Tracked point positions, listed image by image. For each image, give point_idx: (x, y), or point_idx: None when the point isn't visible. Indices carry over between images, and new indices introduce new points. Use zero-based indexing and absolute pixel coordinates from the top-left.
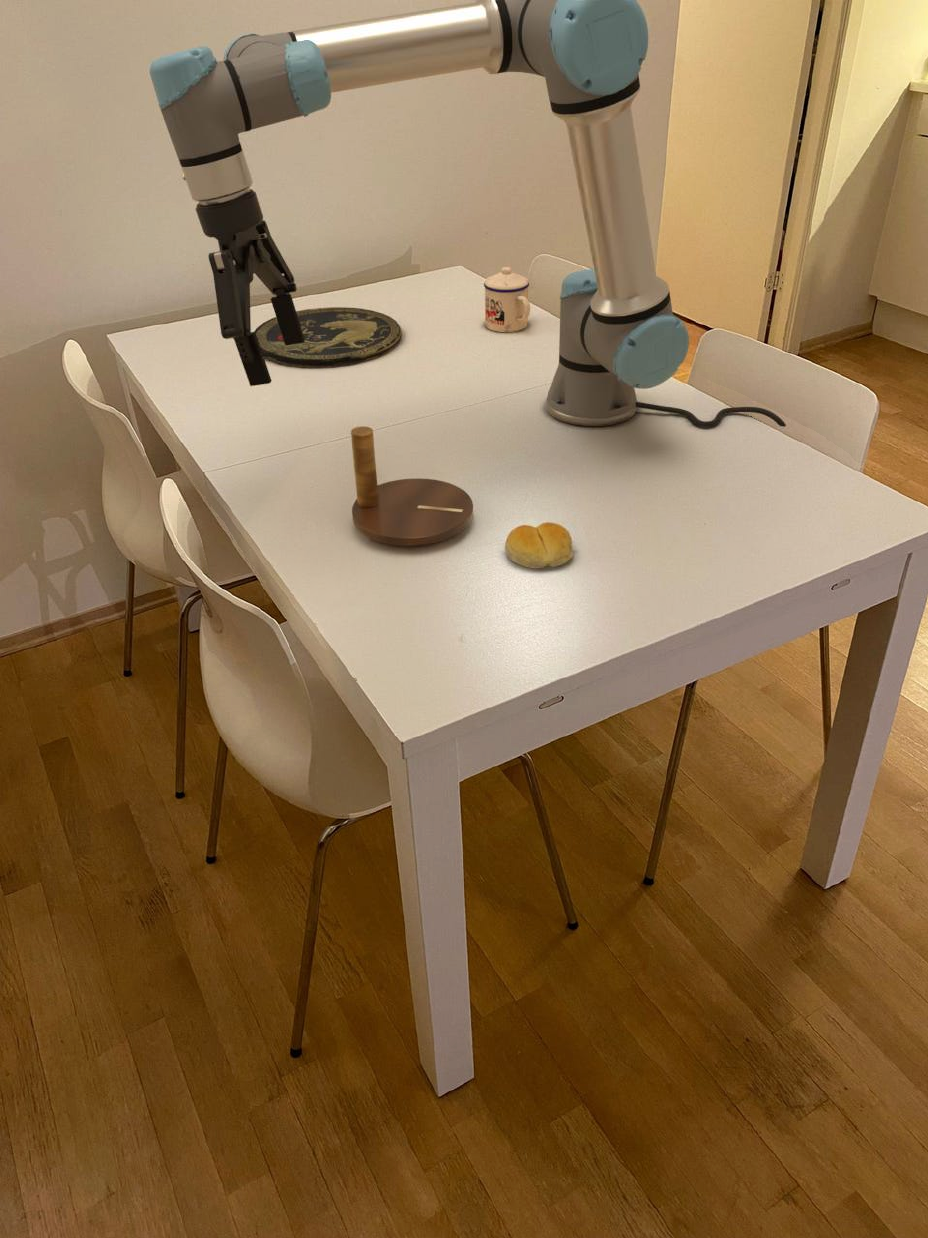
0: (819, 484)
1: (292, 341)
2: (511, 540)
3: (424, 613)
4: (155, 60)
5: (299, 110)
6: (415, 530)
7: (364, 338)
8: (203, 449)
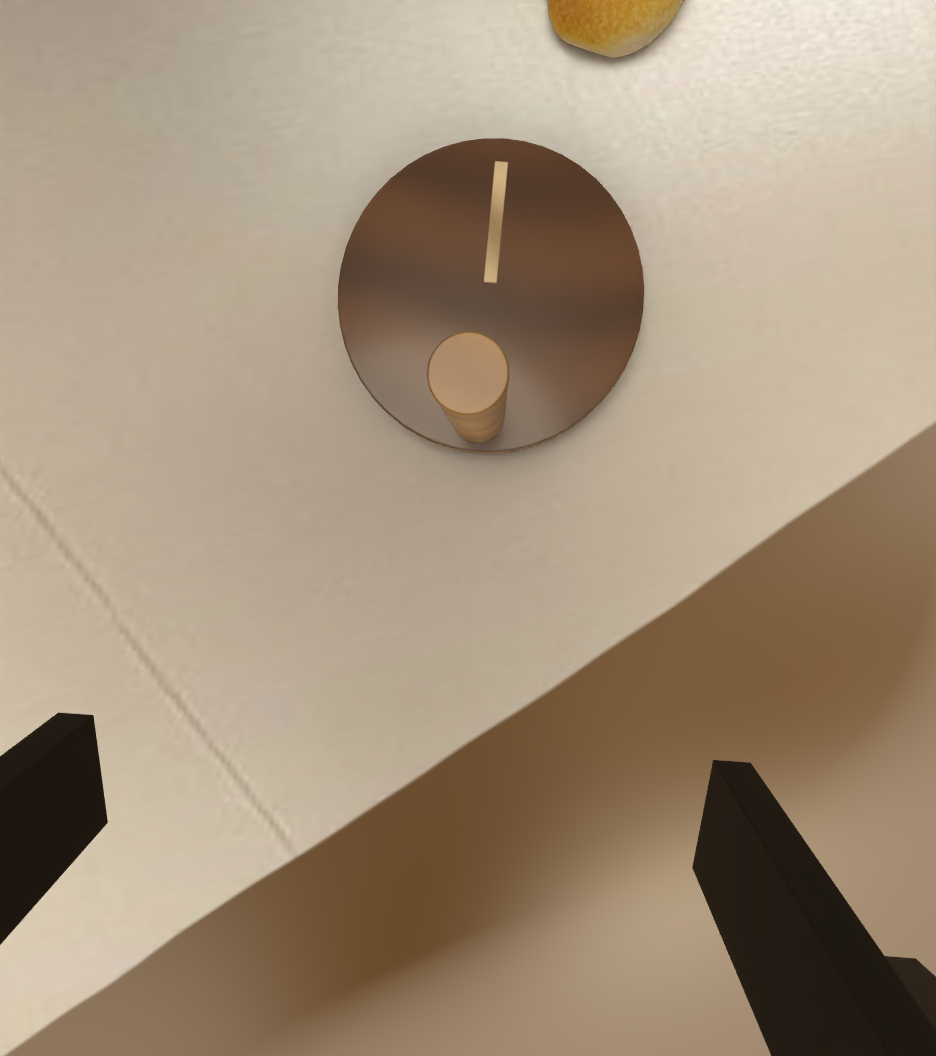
0: None
1: (90, 789)
2: (649, 4)
3: (871, 214)
4: None
5: None
6: (606, 267)
7: None
8: (186, 903)
